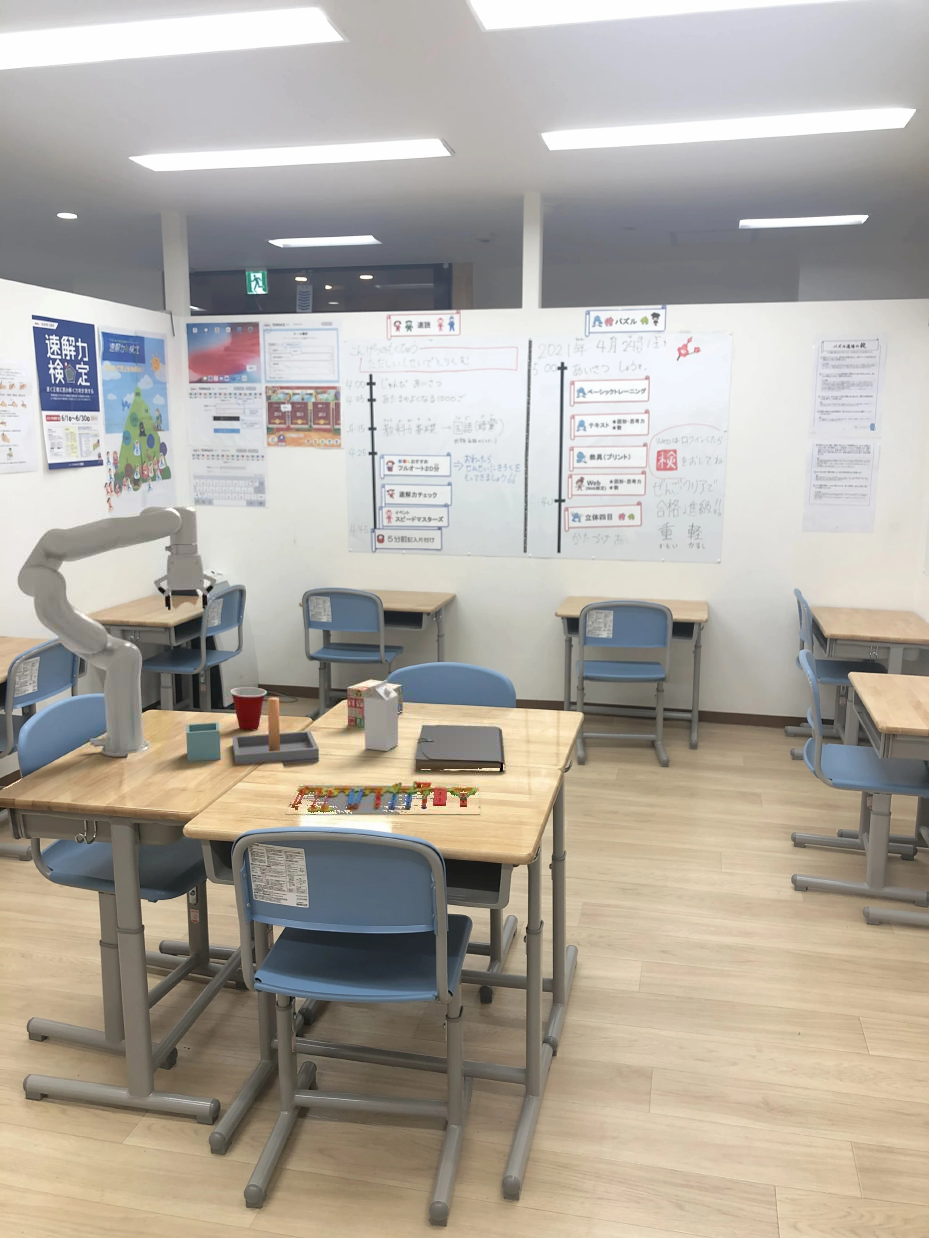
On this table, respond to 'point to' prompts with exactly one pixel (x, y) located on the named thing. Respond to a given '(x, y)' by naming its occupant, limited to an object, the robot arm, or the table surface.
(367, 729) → the milk carton
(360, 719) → the stack of blocks
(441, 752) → the file folder
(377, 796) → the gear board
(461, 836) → the table surface
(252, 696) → the plastic cup
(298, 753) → the tray
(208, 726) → the light blue open box
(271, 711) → the dowel pin
